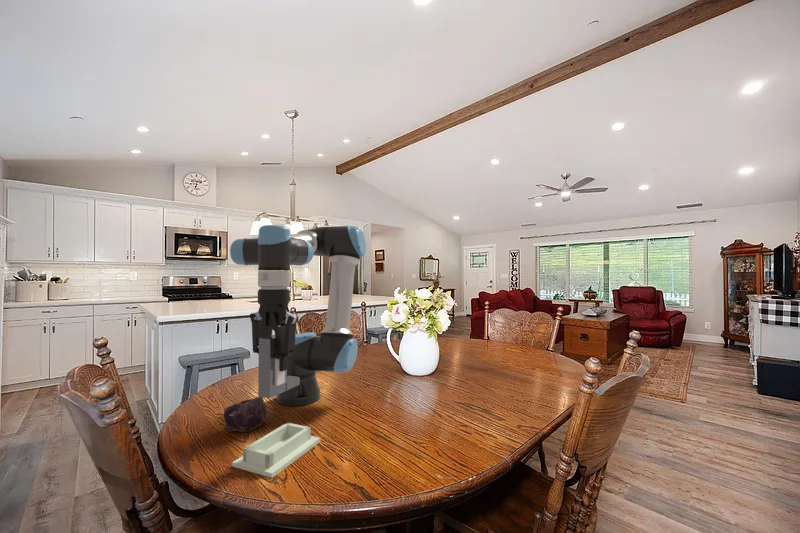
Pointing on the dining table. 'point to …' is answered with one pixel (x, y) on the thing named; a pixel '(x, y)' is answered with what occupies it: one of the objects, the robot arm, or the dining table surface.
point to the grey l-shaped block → (271, 370)
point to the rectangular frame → (276, 450)
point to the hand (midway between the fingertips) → (273, 382)
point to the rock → (245, 415)
